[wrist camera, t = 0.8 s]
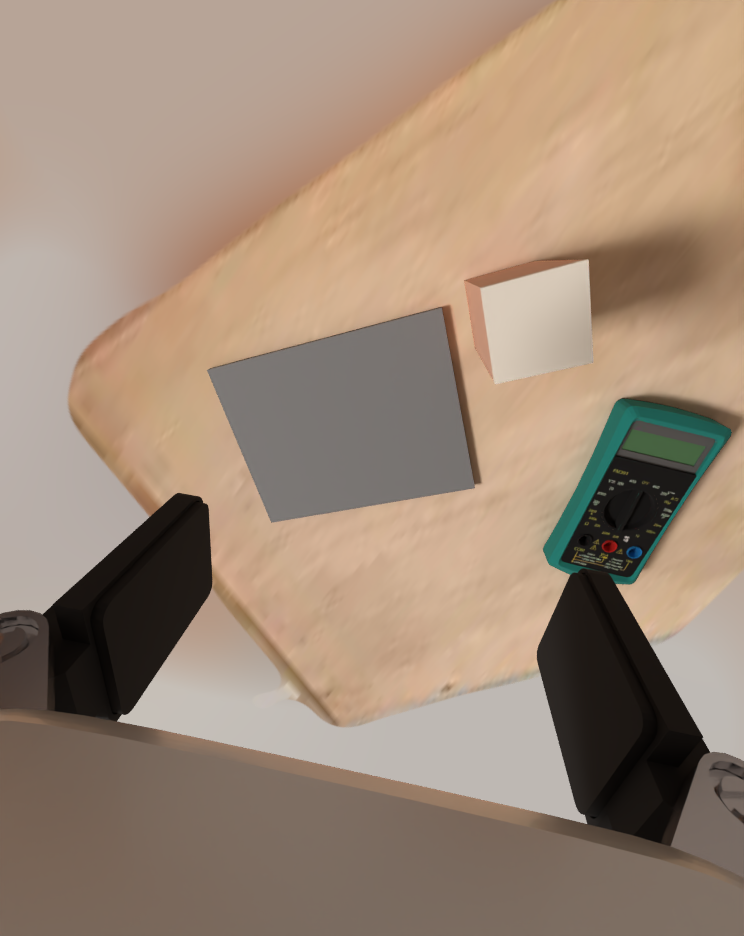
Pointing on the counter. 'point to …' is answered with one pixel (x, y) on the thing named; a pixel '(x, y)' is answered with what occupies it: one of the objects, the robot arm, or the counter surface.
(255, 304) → the counter surface
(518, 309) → the block
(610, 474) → the digital multimeter
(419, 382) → the mat
